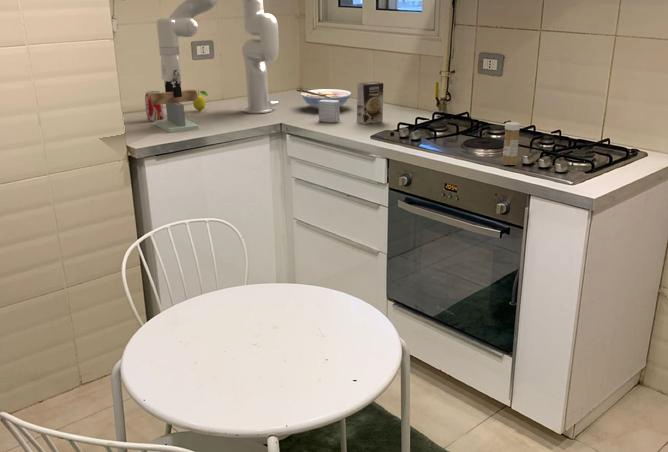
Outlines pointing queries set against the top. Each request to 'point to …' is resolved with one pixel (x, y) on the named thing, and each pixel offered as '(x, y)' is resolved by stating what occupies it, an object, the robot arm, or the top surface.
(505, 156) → the sprinkles bottle
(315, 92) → the ramen bowl
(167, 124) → the stand
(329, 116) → the medicine box
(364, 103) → the coffee box
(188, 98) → the walnut bar
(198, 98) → the lemon
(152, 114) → the soda can
